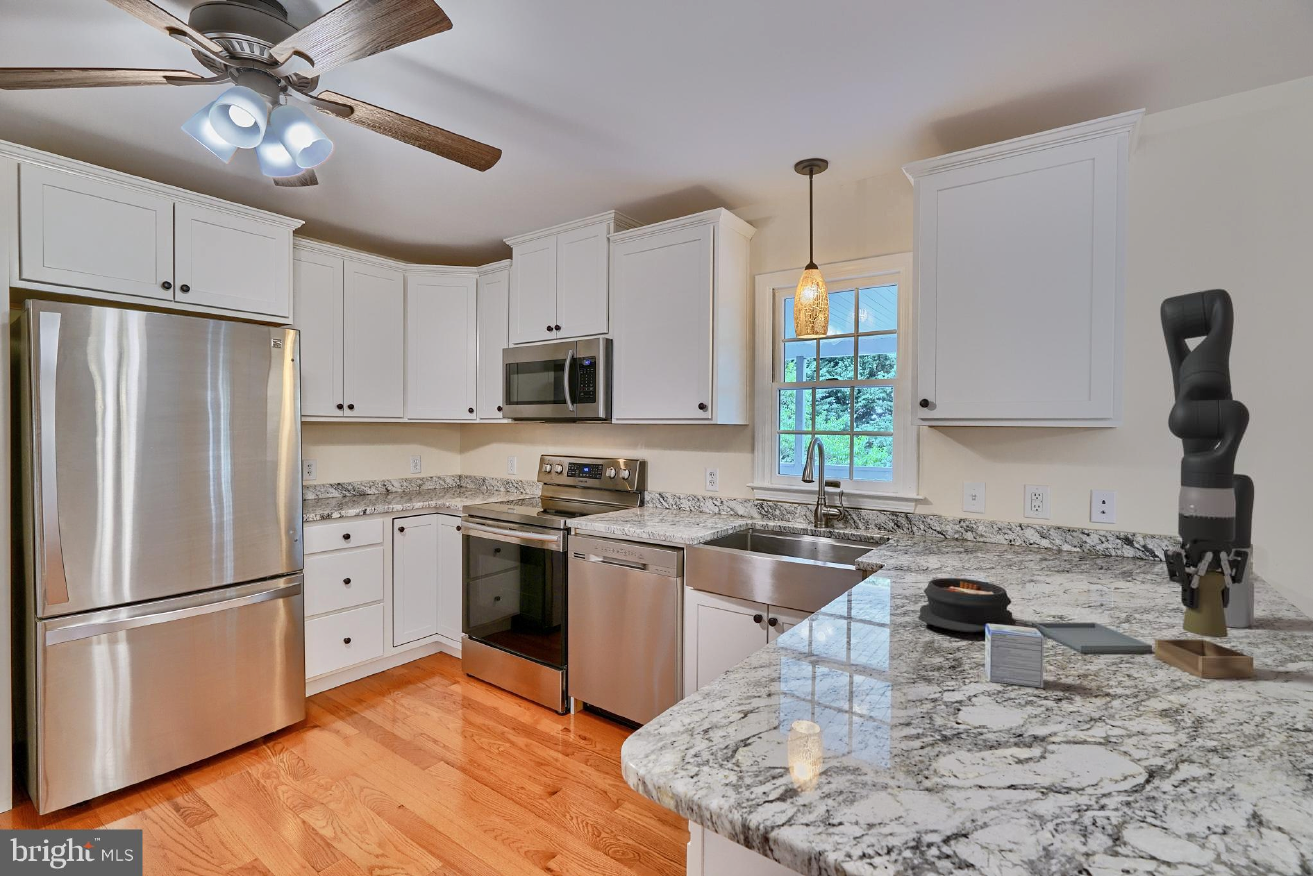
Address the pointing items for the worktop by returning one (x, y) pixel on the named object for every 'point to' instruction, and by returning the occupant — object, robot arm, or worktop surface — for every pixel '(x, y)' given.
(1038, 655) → the medicine box
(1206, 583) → the cork
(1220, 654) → the holder
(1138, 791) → the worktop surface
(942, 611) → the casserole
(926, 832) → the worktop surface
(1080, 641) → the tray
